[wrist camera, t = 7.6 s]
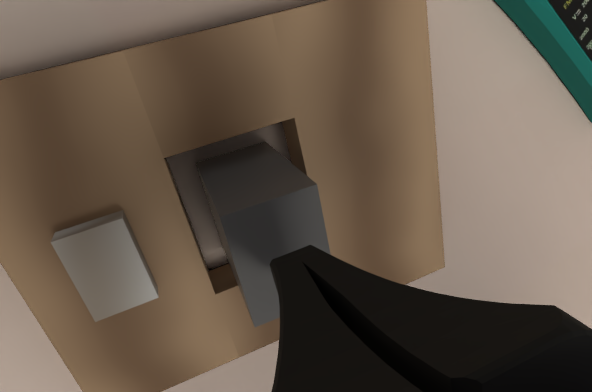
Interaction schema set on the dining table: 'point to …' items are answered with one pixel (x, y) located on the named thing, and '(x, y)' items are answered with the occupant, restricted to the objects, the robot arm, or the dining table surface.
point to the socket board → (196, 133)
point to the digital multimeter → (560, 39)
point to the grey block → (261, 218)
